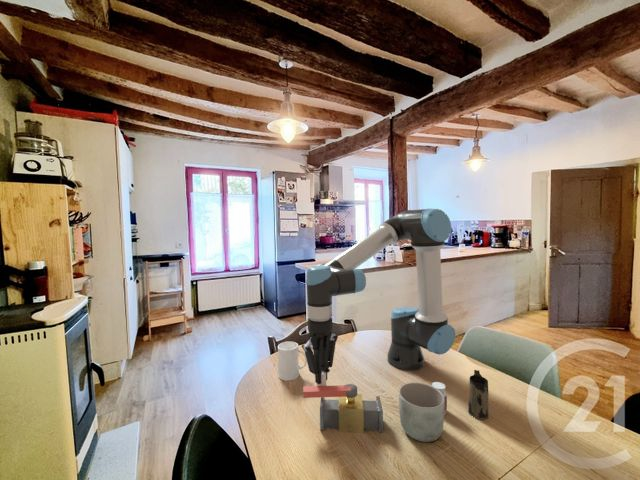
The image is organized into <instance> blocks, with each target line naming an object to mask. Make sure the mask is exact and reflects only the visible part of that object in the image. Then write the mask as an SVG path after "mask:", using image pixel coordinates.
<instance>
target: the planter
mask: <svg viewBox="0 0 640 480" xmlns="http://www.w3.org/2000/svg"><path fill="white" fill-rule="evenodd" d="M398 407H399V408H398V409H399V412H398V413H399V420H400V425H401V427H402V429H403V431H404V433H406V435H408V436H409V437H410V438H412V439H414V440H415V441H419V442H423V443H430V442H434V441H436V440H437V439H439V438H440V437H441V435H442V433H443V430H444V429H443V428H444V423H445V422H444V420H445V415H444V407H445V398H444V396H443V394H442V393H441V392H440V391H439V390H438V389H436V388H435V387H433V386H432V385H430V384H427V383H423V382H417V381H416V382H415V381H414V382H406V383H404V384H402V385H401V386H400V387H399V389H398Z"/></svg>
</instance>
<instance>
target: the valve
mask: <svg viewBox="0 0 640 480" xmlns="http://www.w3.org/2000/svg"><path fill="white" fill-rule="evenodd" d="M362 395H363V394H361V393H357V396H356V397H353V398H349V397H338V399H327V398H326V397H320V402H319V403H320V405H319V431H321V432H323V431H324V430H325V429H337V430H338V432H340V433H360V434H361V433H362V434H363V433H364V430H365V431H370V430H371V431H378V432H379V433H381V434H383V433H384V409H383V405H382V400H381V398H380V396H377V395H376V396H375V397H376V398H375V400H363V396H362ZM325 398H326V399H325Z"/></svg>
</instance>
